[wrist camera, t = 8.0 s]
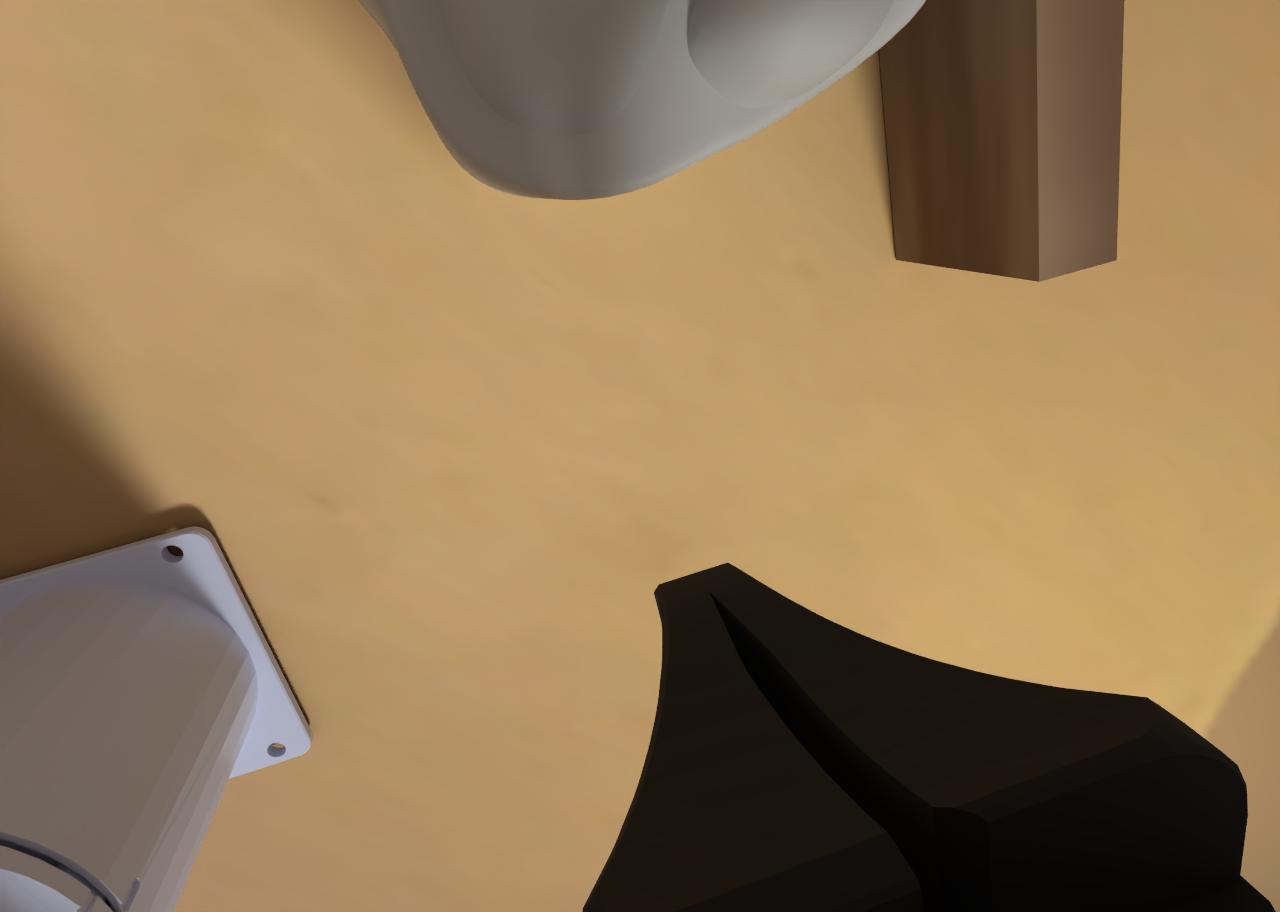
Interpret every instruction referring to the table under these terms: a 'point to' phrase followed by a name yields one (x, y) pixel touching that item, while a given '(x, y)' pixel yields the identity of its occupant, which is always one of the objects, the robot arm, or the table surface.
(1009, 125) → the walnut board
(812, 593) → the table surface
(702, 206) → the table surface
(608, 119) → the lumpy-topped squat cylinder
